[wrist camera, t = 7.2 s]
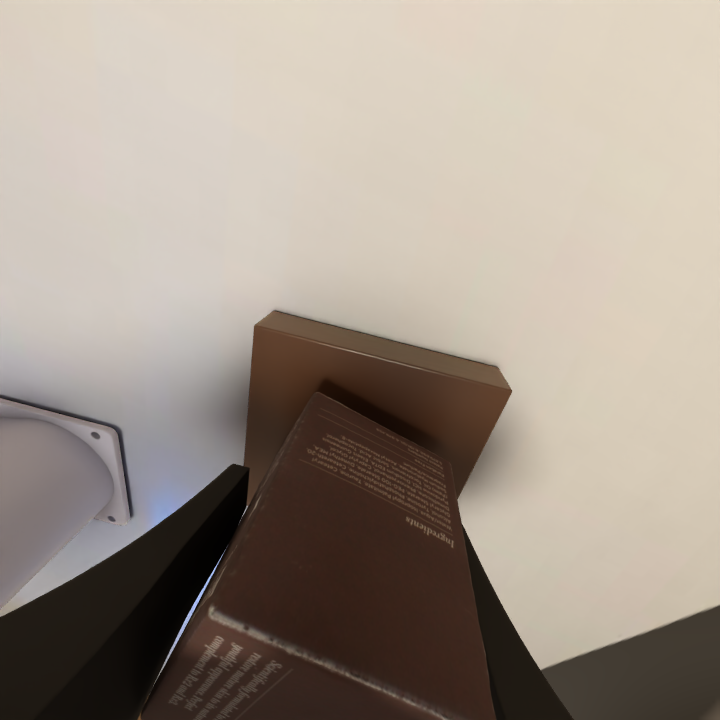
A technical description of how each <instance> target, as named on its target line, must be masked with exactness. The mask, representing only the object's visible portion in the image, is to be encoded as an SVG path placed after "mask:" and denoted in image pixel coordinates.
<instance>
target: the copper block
mask: <svg viewBox="0 0 720 720" xmlns="http://www.w3.org/2000/svg"><path fill="white" fill-rule="evenodd" d="M316 392H319V393H321V394H323V395H325V396H327V397H329V398H331V399H333V400H335V401H336V402H339V403H341V404H343V405H344V406H346V407H348V408H350V409H351V410H353V411H355V412H357V413H359V414H361V415H362V416H364V417H366V418H368V419H370V420H372V421H374V422H376V423H377V424H379V425H381V426H383V427H385V428H387V429H388V430H390V431H392V432H394V433H396V434H398V435H400V436H402V437H404V438H406V439H408V440H409V441H411V442H414V443H415V444H417V445H419V446H421V447H423V448H425V449H426V450H428V451H430V452H432V453H434V454H436V455H437V456H439V457H441V458H443V459H445V460H447V461H448V462H450V464H451V467H452V473H453V478H454V484H455V490H456V496H457V499H458V497H459V495H460V493H461V492H462V490H463V488H464V486H465V484H466V482H467V480H468V478H469V476H470V474H471V472H472V470H473V468H474V466H475V464H476V462H477V460H478V458H479V456H480V454H481V452H482V450H483V448H484V446H485V444H486V442H487V440H488V438H489V436H490V434H491V432H492V430H493V428H494V426H495V425H496V423H497V421H498V419H499V417H500V415H501V413H502V411H503V409H504V407H505V405H506V403H507V401H508V399H509V397H510V395H511V393H512V390H511V388H510V386H509V385H508V383H507V381H506V380H505V378H504V376H503V375H502V373H501V371H500V370H499V368H497V367H493V366H489V365H485V364H481V363H477V362H473V361H469V360H465V359H461V358H457V357H453V356H449V355H445V354H442V353H438V352H434V351H430V350H426V349H422V348H418V347H414V346H410V345H406V344H402V343H398V342H394V341H390V340H386V339H382V338H378V337H375V336H371V335H367V334H363V333H359V332H355V331H351V330H347V329H343V328H339V327H335V326H331V325H327V324H323V323H319V322H315V321H311V320H308V319H304V318H300V317H296V316H292V315H288V314H284V313H280V312H276V311H273V312H271V313H270V314H269V315H267V316H266V317H265V318H263V319H262V320H261V321H259V322H258V323H257V324H255V326H254V336H253V349H252V362H251V376H250V389H249V402H248V415H247V429H246V442H245V455H244V467H248V468H250V472H249V483H248V495H247V506H249V504H250V502H251V500H252V498H253V496H254V494H255V492H256V491H257V488H258V486H259V483H260V482H261V481H262V479H263V477H264V476H265V474H266V473H267V471H268V469H269V467H270V465H271V464H272V462H273V460H274V458H275V456H276V454H277V453H278V451H279V450H280V448H281V446H282V445H283V443H284V440H285V438H286V437H287V435H288V434H289V432H290V430H291V429H292V427H293V426H294V424H295V423H296V421H297V420H298V418H299V416H300V414H301V413H302V411H303V409H304V408H305V406H306V405H307V403H308V401H309V400H310V398H311V396H312V395H313V394H314V393H316Z"/></svg>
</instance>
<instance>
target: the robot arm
mask: <svg viewBox="0 0 720 720" xmlns="http://www.w3.org/2000/svg"><path fill="white" fill-rule="evenodd" d="M249 472H250V468H248V467H244V466H241V465H237V464H232V465H230V466H229V467H228V468H227V469H226V470H225V471H223V472H222V473H221V474H220V475H219V476H218V477H217V478H216V479H214V480H213V481H212V482H211V483H210V484H209V485H207V486H206V487H205V488H204V489H203V490H201V491H200V492H199V493H198V494H197V495H195V496H194V497H193V498H192V499H190V500H189V501H188V502H187V503H185V504H184V505H183V506H182V507H180V508H179V509H178V510H177V511H175V512H174V513H173V514H171V515H170V516H168V517H167V518H166V519H164V520H163V521H162V522H160V523H159V524H158V525H156V526H155V527H154V528H152V529H151V530H149V531H148V532H147V533H145V534H144V535H142V536H141V537H139V538H138V539H136V540H135V541H133V542H132V543H130V544H129V545H127V546H126V547H124V548H123V549H121V550H120V551H118V552H117V553H115V554H113V555H112V556H110V557H109V558H107V559H105V560H104V561H102V562H100V563H99V564H97V565H95V566H94V567H92V568H90V569H89V570H87V571H85V572H84V573H82V574H80V575H79V576H77V577H75V578H73V579H72V580H70V581H68V582H66V583H64V584H63V585H61V586H59V587H57V588H55V589H53V590H51V591H50V592H48V593H46V594H44V595H42V596H40V597H38V598H36V599H35V600H33V601H31V602H29V603H27V604H25V605H23V606H21V607H20V608H18V609H16V610H14V611H12V612H10V613H8V614H6V615H4V616H2V617H0V720H138V718H139V716H140V713H141V711H142V709H143V707H144V705H145V702H146V700H147V698H148V696H149V694H150V692H151V690H152V687H153V685H154V683H155V681H156V679H157V677H158V675H159V673H160V671H161V668H162V666H163V664H164V662H165V660H166V658H167V656H168V654H169V652H170V650H171V647H172V645H173V643H174V641H175V639H176V637H177V635H178V633H179V631H180V629H181V627H182V625H183V623H184V621H185V619H186V617H187V615H188V613H189V611H190V610H191V608H192V606H193V604H194V602H195V601H196V599H197V597H198V595H199V594H200V592H201V590H202V589H203V587H204V585H205V583H206V582H207V580H208V578H209V577H210V575H211V573H212V571H213V570H214V568H215V566H216V565H217V563H218V561H219V560H220V558H221V556H222V554H223V553H224V551H225V549H226V547H227V546H228V544H229V542H230V540H231V539H232V537H233V535H234V533H235V531H236V529H237V527H238V524H239V522H240V520H241V518H242V516H243V513H244V511H245V509H246V506H247V495H248V483H249ZM93 518H94V519H98V520H102V521H105V522H109V523H113V524H116V525H120V526H124V525H126V524H127V523H128V522H129V521H130V512H129V505H128V499H127V492H126V486H125V479H124V472H123V466H122V459H121V452H120V446H119V439H118V434H117V432H116V431H115V430H114V429H113V428H110V427H107V426H103V425H100V424H96V423H92V422H88V421H85V420H81V419H77V418H73V417H69V416H66V415H62V414H58V413H54V412H51V411H47V410H43V409H39V408H36V407H32V406H28V405H24V404H20V403H17V402H13V401H9V400H5V399H2V398H0V609H1V608H2V607H3V606H4V605H5V604H6V603H7V602H8V601H9V600H10V599H11V598H12V597H13V596H15V595H16V594H17V593H18V592H19V591H20V590H21V589H22V588H23V587H24V586H25V585H26V584H27V583H28V582H29V581H30V580H31V579H32V578H33V577H34V576H35V575H36V574H37V573H38V572H39V571H40V570H41V569H42V568H43V567H44V566H45V565H46V564H47V563H48V562H49V561H50V560H51V559H52V558H53V557H54V556H55V555H56V554H57V553H58V552H59V551H60V550H61V549H62V548H63V547H64V546H65V545H66V544H67V543H68V542H69V541H70V540H71V539H72V538H74V537H75V536H76V535H77V534H78V533H79V532H80V531H81V530H82V529H83V528H84V527H85V526H86V525H87V524H88V523H89V522H90V521H91V520H92V519H93ZM462 529H463V535H464V540H465V546H466V552H467V557H468V564H469V569H470V574H471V581H472V587H473V591H474V596H475V603H476V608H477V614H478V622H479V626H480V631H481V635H482V640H483V644H484V649H485V654H486V661H487V668H488V674H489V682H490V691H491V697H492V702H493V707H494V711H495V715H496V719H497V720H574V719H573V718H572V716H571V715H570V713H569V712H568V711H567V709H566V708H565V706H564V705H563V704H562V702H561V701H560V700H559V698H558V696H557V695H556V693H555V692H554V690H553V689H552V687H551V686H550V684H549V683H548V681H547V680H546V678H545V677H544V675H543V674H542V672H541V671H540V669H539V667H538V666H537V664H536V663H535V661H534V659H533V658H532V656H531V655H530V653H529V651H528V650H527V648H526V646H525V645H524V643H523V641H522V640H521V638H520V636H519V635H518V633H517V631H516V629H515V628H514V626H513V624H512V622H511V620H510V619H509V617H508V615H507V613H506V611H505V610H504V608H503V606H502V604H501V602H500V600H499V598H498V596H497V595H496V593H495V591H494V589H493V587H492V585H491V583H490V581H489V579H488V577H487V575H486V573H485V571H484V569H483V567H482V565H481V563H480V561H479V559H478V556H477V554H476V552H475V550H474V548H473V546H472V544H471V542H470V539H469V537H468V535H467V533H466V531H465V529H464V527H463V525H462Z"/></svg>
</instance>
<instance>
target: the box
mask: <svg viewBox="0 0 720 720" xmlns="http://www.w3.org/2000/svg"><path fill="white" fill-rule="evenodd" d="M140 718H141V720H497V719H496V715H495V711H494V707H493V702H492V697H491V691H490V682H489V674H488V668H487V661H486V654H485V649H484V644H483V640H482V635H481V631H480V626H479V622H478V614H477V608H476V603H475V596H474V591H473V587H472V581H471V574H470V569H469V564H468V557H467V552H466V546H465V540H464V535H463V529H462V523H461V517H460V513H459V507H458V501H457V496H456V490H455V484H454V478H453V473H452V467H451V464H450V462H448V461H447V460H445V459H443V458H441V457H439V456H437V455H436V454H434V453H432V452H430V451H428V450H426V449H425V448H423V447H421V446H419V445H417V444H415V443H414V442H411V441H409V440H408V439H406V438H404V437H402V436H400V435H398V434H396V433H394V432H392V431H390V430H388V429H387V428H385V427H383V426H381V425H379V424H377V423H376V422H374V421H372V420H370V419H368V418H366V417H364V416H362V415H361V414H359V413H357V412H355V411H353V410H351V409H350V408H348V407H346V406H344V405H343V404H341V403H339V402H336V401H335V400H333V399H331V398H329V397H327V396H325V395H323V394H321V393H319V392H316V393H314V394H313V395H312V396H311V398H310V400H309V401H308V403H307V405H306V406H305V408H304V409H303V411H302V413H301V414H300V416H299V418H298V420H297V421H296V423H295V424H294V426H293V427H292V429H291V430H290V432H289V434H288V435H287V437H286V438H285V440H284V443H283V445H282V446H281V448H280V450H279V451H278V453H277V454H276V456H275V458H274V460H273V462H272V464H271V465H270V467H269V469H268V471H267V473H266V474H265V476H264V477H263V479H262V481H261V482H260V483H259V486H258V488H257V491H256V492H255V494H254V496H253V498H252V500H251V502H250V504H249V506H248V508H247V510H246V512H245V514H244V515H243V517H242V519H241V521H240V523H239V525H238V527H237V529H236V531H235V533H234V535H233V537H232V539H231V540H230V542H229V544H228V546H227V548H226V550H225V552H224V554H223V556H222V558H221V560H220V562H219V564H218V565H217V568H216V570H215V572H214V574H213V575H212V577H211V579H210V581H209V583H208V585H207V587H206V589H205V591H204V593H203V595H202V597H201V599H200V601H199V602H198V604H197V606H196V608H195V610H194V612H193V614H192V616H191V618H190V620H189V622H188V624H187V625H186V627H185V629H184V631H183V633H182V635H181V637H180V638H179V640H178V642H177V644H176V646H175V648H174V650H173V651H172V653H171V655H170V657H169V659H168V661H167V663H166V665H165V666H164V668H163V670H162V672H161V673H160V675H159V677H158V679H157V681H156V682H155V684H154V686H153V688H152V690H151V692H150V694H149V697H148V699H147V701H146V703H145V705H144V707H143V709H142V712H141V717H140Z"/></svg>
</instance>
